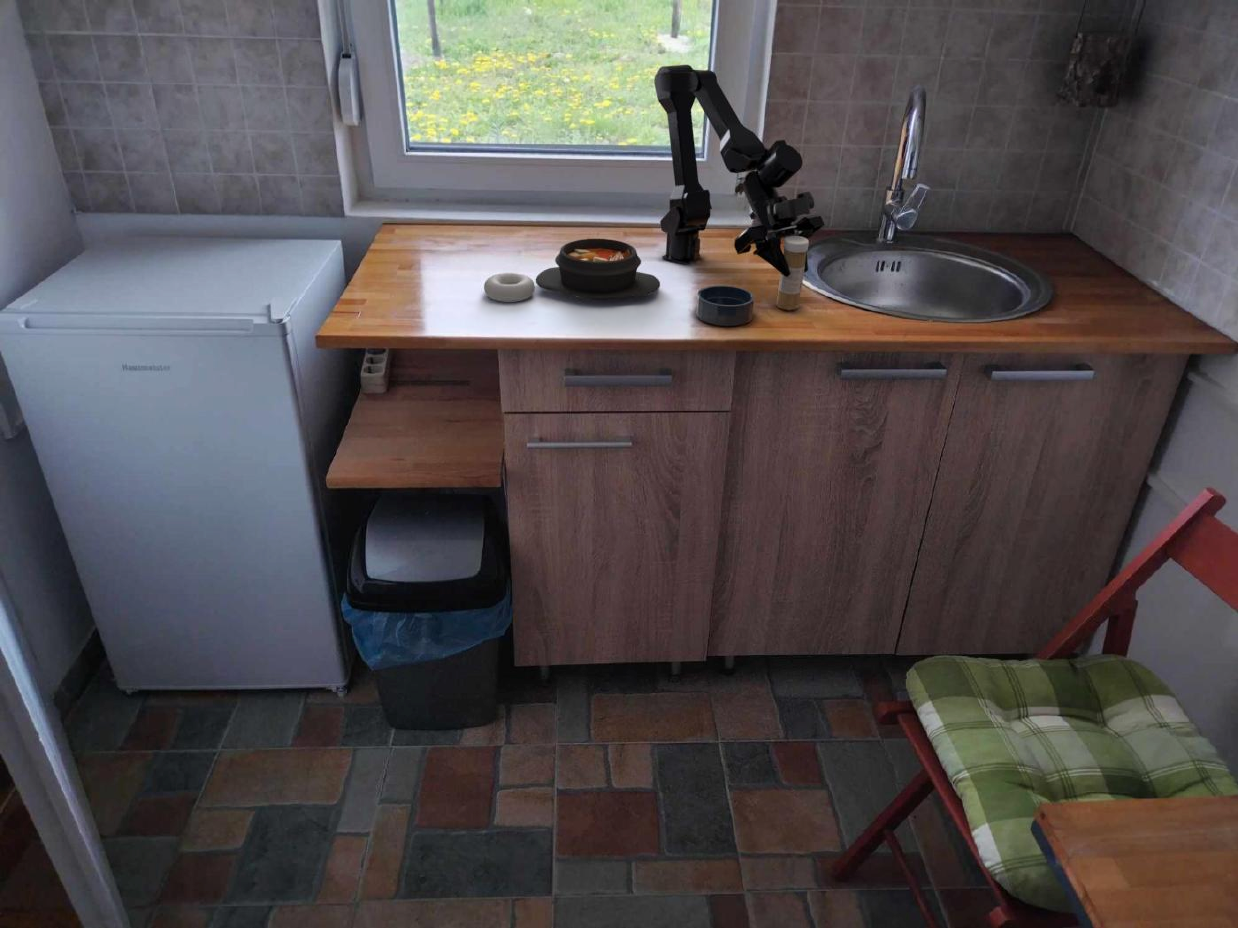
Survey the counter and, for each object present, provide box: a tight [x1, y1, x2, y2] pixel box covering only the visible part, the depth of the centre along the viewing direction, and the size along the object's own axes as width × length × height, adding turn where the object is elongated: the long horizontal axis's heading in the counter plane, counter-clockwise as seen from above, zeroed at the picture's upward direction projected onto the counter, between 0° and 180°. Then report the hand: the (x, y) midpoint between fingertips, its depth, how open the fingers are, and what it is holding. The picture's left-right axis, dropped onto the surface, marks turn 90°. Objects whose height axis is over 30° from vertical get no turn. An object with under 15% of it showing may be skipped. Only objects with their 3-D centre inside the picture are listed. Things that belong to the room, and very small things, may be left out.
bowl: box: [695, 284, 755, 327], centre depth 173 cm, size 11×11×4 cm
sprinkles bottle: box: [775, 236, 810, 311], centre depth 175 cm, size 5×5×14 cm
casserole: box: [535, 238, 661, 301], centre depth 182 cm, size 25×19×8 cm
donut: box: [483, 272, 536, 303], centre depth 180 cm, size 10×4×10 cm
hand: (797, 273), depth 174 cm, fingers closed on sprinkles bottle, 4 cm apart
